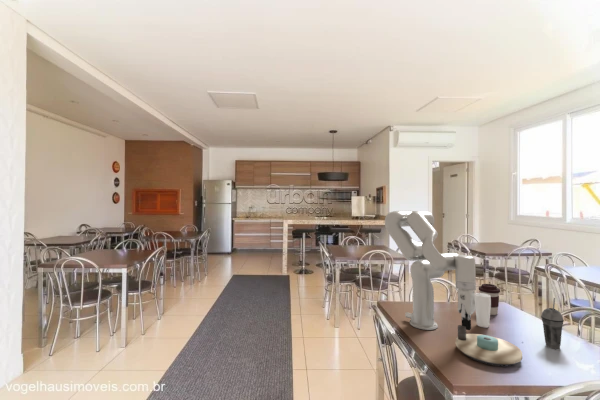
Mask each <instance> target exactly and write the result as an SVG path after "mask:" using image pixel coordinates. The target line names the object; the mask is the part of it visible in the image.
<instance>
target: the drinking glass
mask: <svg viewBox="0 0 600 400" xmlns="http://www.w3.org/2000/svg"><path fill="white" fill-rule="evenodd" d="M474 294H475V318H476V325H477V326H478V327H480V328H484V329H485V328H487V329H488V328H490V319H491V315H490V310H491V296H490V295H488V294H484V293H480V292H476V293H475V292H474Z"/></svg>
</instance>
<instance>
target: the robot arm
mask: <svg viewBox="0 0 600 400" xmlns="http://www.w3.org/2000/svg"><path fill="white" fill-rule="evenodd" d="M434 224H435V217H434V215H433V213H431V212H430V211H427V210H426V211H421V210H420V211H418V210H396V211H395V210H394V211H391V212H389V213H387V214H386V216H385V218H384V227H385V230H386V232H387V233H388V235H389V236H390V237H391V239H392V240H393V241H394V243H395V244H396V246H397V248H398V249H399V251H400V253H401V254H402V255H403V257H404V259H405V260H407V261H409V262H412V264H411V265H410V277H411V282H412V312H408V311H407V312H406V311H405V313H404V314H405V318H407V319H410V320H409V325H410V326H412V327H414V328H416V329H419V330H424V331H425V330H426V331H435V330H436V329H438V327H439V326H438V323H437V321H435V301H434V300H435V299H434V298H435V296H434V295H435V293H434V292H435V291H434V289H435V288H434V286H433V284H432V281H431V280H432V279H438V278H441V277H443V275H445V272H447V271H455V272H454V273H455V277H454V278H455V281H454V282H455V289H457V311H458V313H459V314H461V325H462V326H465V327H466V331H471V329H472V320H471V318H472V316H473V314H474V313H475V312H476V310H475V291H476V290H477V286H476V283H477V282H476V275H477V274H476V259H475V257H474V256H472V255H465V254H464V255H463V254H460V253H456V252H444V253H441V252H439V250H438V249H437V247H436V246H435V244H434V241H435V240H436V239H437V238H438V235H439V234H438V231H437V230H436V229H435V227H434ZM403 227H410V229H411V230H412V231H413V233H414V234H415V236H416V237H418V240H420V241H416V240H415V239H414V238H413V237H412V236H411V234H410V233H409V232H408V231H406V229H404V228H403Z"/></svg>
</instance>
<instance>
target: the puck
mask: <svg viewBox="0 0 600 400" xmlns="http://www.w3.org/2000/svg"><path fill="white" fill-rule="evenodd" d="M494 337H495V336H492V337H491V335H487V334H486V335H485V334H481V335H478V336H477V346H478V347H480V348H482V349H485V350H489V351H496V350H498V340H497V339H496V338H497V337H496V338H494Z"/></svg>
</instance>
